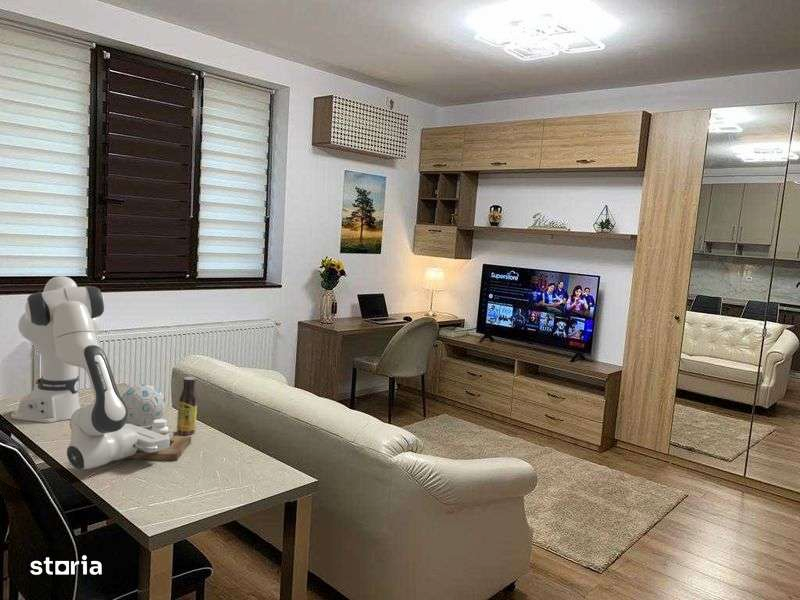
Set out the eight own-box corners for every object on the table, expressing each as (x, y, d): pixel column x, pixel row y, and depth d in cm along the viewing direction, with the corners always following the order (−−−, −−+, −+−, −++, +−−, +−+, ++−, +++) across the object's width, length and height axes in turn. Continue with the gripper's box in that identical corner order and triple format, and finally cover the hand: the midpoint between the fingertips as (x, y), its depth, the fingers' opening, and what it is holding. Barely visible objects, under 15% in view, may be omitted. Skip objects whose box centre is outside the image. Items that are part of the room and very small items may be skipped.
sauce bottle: (172, 433, 213) (174, 377, 211) (186, 428, 218) (188, 374, 216) (186, 437, 210) (188, 381, 208) (200, 432, 215) (202, 377, 213)
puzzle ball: (160, 417, 228) (161, 378, 227) (168, 430, 216) (169, 389, 214) (116, 422, 220) (116, 381, 219) (121, 435, 208) (122, 392, 206)
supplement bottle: (171, 448, 199) (172, 419, 198) (160, 454, 194) (161, 424, 193) (157, 446, 200) (158, 417, 199) (146, 451, 195) (147, 421, 194)
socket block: (124, 458, 189) (124, 452, 188) (142, 440, 204) (142, 434, 204) (177, 460, 190) (177, 454, 190) (191, 442, 206) (191, 436, 205)
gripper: (146, 440, 180) (184, 429, 192) (103, 425, 190) (141, 415, 202) (146, 461, 180) (183, 448, 192) (102, 445, 190) (141, 433, 202)
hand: (161, 431), depth 197 cm, fingers open, 8 cm apart
